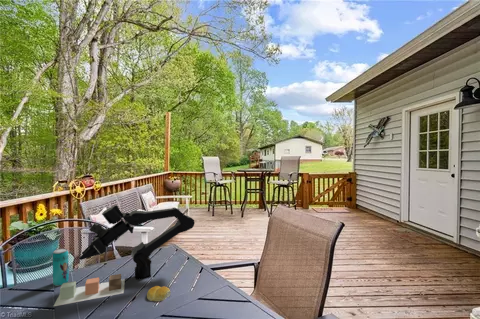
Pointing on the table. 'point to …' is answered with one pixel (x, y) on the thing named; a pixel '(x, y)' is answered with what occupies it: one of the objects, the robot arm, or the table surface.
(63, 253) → the beverage can
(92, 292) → the terracotta block
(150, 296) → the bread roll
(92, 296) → the white mat
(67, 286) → the sage block
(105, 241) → the robot arm
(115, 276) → the walnut block
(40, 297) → the table surface
